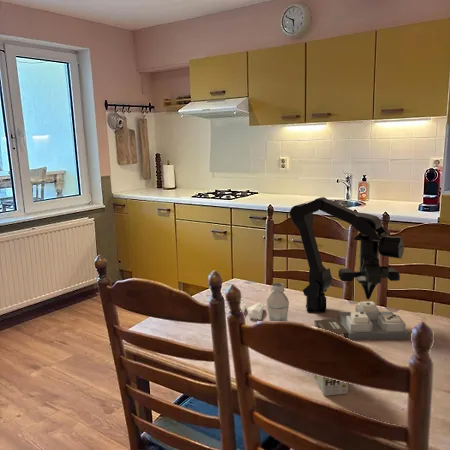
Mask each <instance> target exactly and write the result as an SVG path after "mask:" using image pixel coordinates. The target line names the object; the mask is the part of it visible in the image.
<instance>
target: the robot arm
mask: <svg viewBox="0 0 450 450" xmlns="http://www.w3.org/2000/svg"><path fill="white" fill-rule="evenodd" d="M318 211H321V212H323V213H326V214H328V215H330V216H333V217H335V218H337V219H339V220H341V221H343V222H345V223H348V224H349V225H351V227H353V229H354V230H355V231H357V232H359V233H358V234H357V235H356V236H355V237H353V240H354V241H359V242H360V244H359V245H360V247H359V248H360V249H359V266H358V269H359V270H358V271H353V269H351V268H339V270H338V278H339V280H340V281H341V282H352V281H354V279H356V282H357V283H359V284H361V286H362V287H361V288H362V290H363V293H364V296H365V299H366V300H370V298H371V296H372V294H373V292H374V290H375V288H376V286H377V285H378V284H381V283H382V281H383V279H388V280H389V281H390V282H392V281H393V282H397V281H398V282H399V281H400V278H401V275H400V272H399V271H398V270H397V269H395V267H389V266H387V265H385V266H381V265H380V259H379V255H381V257H387V258H393V259H402V258H403V255H404V252H405V245H404V241H403V236H398V235H397V236H396V235H395V236H392V235H389V234H388V232H387V231H386V229H385V227H384V226H383V225H382V221H381V218H380V217H378V216H377V215H374V214H371V213H364V212H360V211H359V212H358V211H355V210H353V209H351V208H348V207H346V206H344V205H341V204H339V203H336V202H334V201H332V200H329V199H327V198H326V197H325V196H322V197H318V198H315V199H314V200H311V201H310V202H307V203H301V204H297V205H294V206H292V207H291V208H290V210H289V217H290V219H291V221H292V224H293V225H294V226H295V227H296V229H297V230H298V231H299V235H300V238H301V242H302V246H303V248H304V249H303V250H304V253H305V257H306V260H307V265H308V267H309V268H308V269H309V270H308V276H307V277H308V285H307V286H306V287H305V288H304V289H302V293H303V296H305V297H306V299H305V301H306V302H305V303H306V304H305V309H306V312H307V313H309V314H311V313H313V314H315V313H316V314H317V313H326V310H327V297H326V295H325V293H326V292H327V291H328V288H330V287H331V285H332V284H333V282H332V281H333V279H334V278H333V276H332V274H331V273H332V272H331V268H326V267H325V266H324V264H323V261H322V258H321V254H320V251H319V245H318V243H317V240H316V239H317V238H316V236H315V233H314V229H313V223H314V213H317V212H318Z"/></svg>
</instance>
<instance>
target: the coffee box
mask: <svg viewBox="0 0 450 450" xmlns="http://www.w3.org/2000/svg"><path fill="white" fill-rule="evenodd" d="M314 326H315V327H318V328H322V329H325V330H329V331H331V332H334V333H336V334H338V335H341V336H343V337H345V338H348V339H349V332H348V331H347V330H346V329H345V328H344V326H343V325H342V323H341V321H340V320H339V318H324V319H316V320H314V321H313V327H314ZM313 377H314V379H315V381H316V384H317V385H318V387H319V389H320V390H321V392H322V394H323V396H325V397H328V396H335V395H336V396H337V395H347V394H348V393H349V382H348V383H344V382H340V381H336V380H333V379H329V378H325V377H321V376H317V375H315V374H314V375H313Z"/></svg>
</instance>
